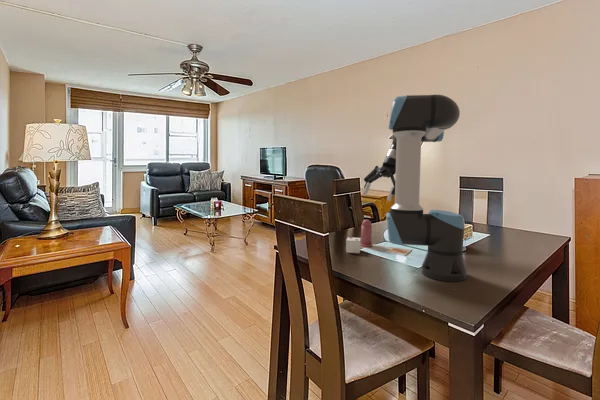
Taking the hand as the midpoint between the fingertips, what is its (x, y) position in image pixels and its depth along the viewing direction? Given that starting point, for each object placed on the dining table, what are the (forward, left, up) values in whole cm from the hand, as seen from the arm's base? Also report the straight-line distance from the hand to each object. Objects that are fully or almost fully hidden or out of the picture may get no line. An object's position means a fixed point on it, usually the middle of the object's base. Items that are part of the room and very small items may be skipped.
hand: (375, 197), depth 159 cm
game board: (-6, -6, -24) cm, 25 cm away
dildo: (-6, +2, -23) cm, 24 cm away
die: (-18, +3, -24) cm, 30 cm away
